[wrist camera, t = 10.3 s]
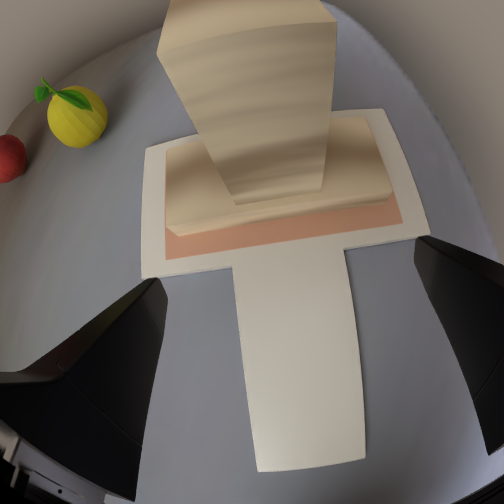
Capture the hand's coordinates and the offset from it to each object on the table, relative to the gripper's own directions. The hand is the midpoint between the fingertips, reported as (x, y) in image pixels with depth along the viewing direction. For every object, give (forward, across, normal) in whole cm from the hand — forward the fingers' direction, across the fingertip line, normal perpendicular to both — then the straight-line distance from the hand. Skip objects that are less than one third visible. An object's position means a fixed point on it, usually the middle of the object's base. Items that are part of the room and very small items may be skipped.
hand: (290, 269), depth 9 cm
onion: (+19, +30, -7) cm, 36 cm away
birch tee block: (+11, 0, 0) cm, 11 cm away
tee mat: (+7, 0, +5) cm, 9 cm away
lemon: (+19, +17, -6) cm, 26 cm away
